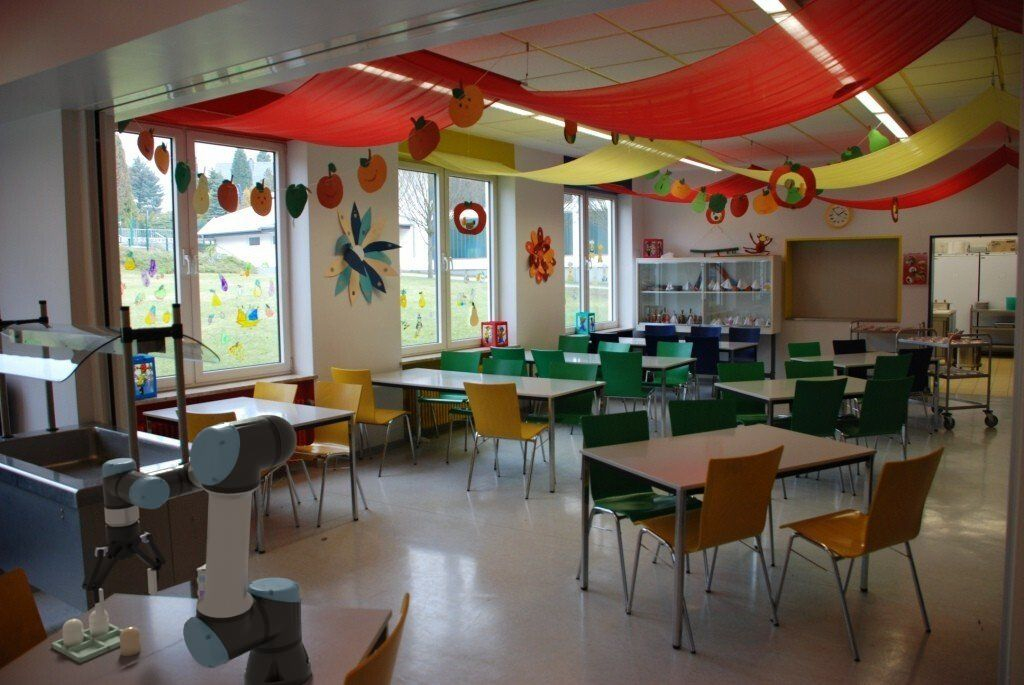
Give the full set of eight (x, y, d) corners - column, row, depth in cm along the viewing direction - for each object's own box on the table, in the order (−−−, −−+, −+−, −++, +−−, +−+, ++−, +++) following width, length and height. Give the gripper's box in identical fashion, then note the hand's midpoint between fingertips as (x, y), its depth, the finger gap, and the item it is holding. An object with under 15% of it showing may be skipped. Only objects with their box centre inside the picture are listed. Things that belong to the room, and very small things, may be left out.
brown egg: (145, 652, 196) (143, 626, 195) (127, 660, 192) (125, 633, 191) (134, 647, 198) (133, 621, 198) (117, 655, 195) (115, 628, 194)
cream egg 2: (113, 633, 205) (111, 608, 204) (95, 640, 201) (93, 615, 200) (103, 629, 207) (102, 604, 206) (86, 636, 203) (84, 610, 203)
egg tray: (135, 641, 201) (134, 635, 201) (80, 665, 190) (79, 658, 190) (106, 627, 209) (105, 621, 209) (51, 649, 198) (51, 642, 197)
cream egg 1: (87, 644, 199) (86, 618, 198) (69, 651, 195) (67, 625, 195) (78, 639, 202) (76, 613, 201) (60, 646, 198) (58, 620, 197)
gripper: (160, 505, 204) (165, 583, 206) (62, 533, 183) (68, 619, 186) (177, 510, 200) (181, 589, 202) (78, 539, 179) (84, 627, 182)
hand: (127, 604), depth 194 cm, fingers open, 13 cm apart
